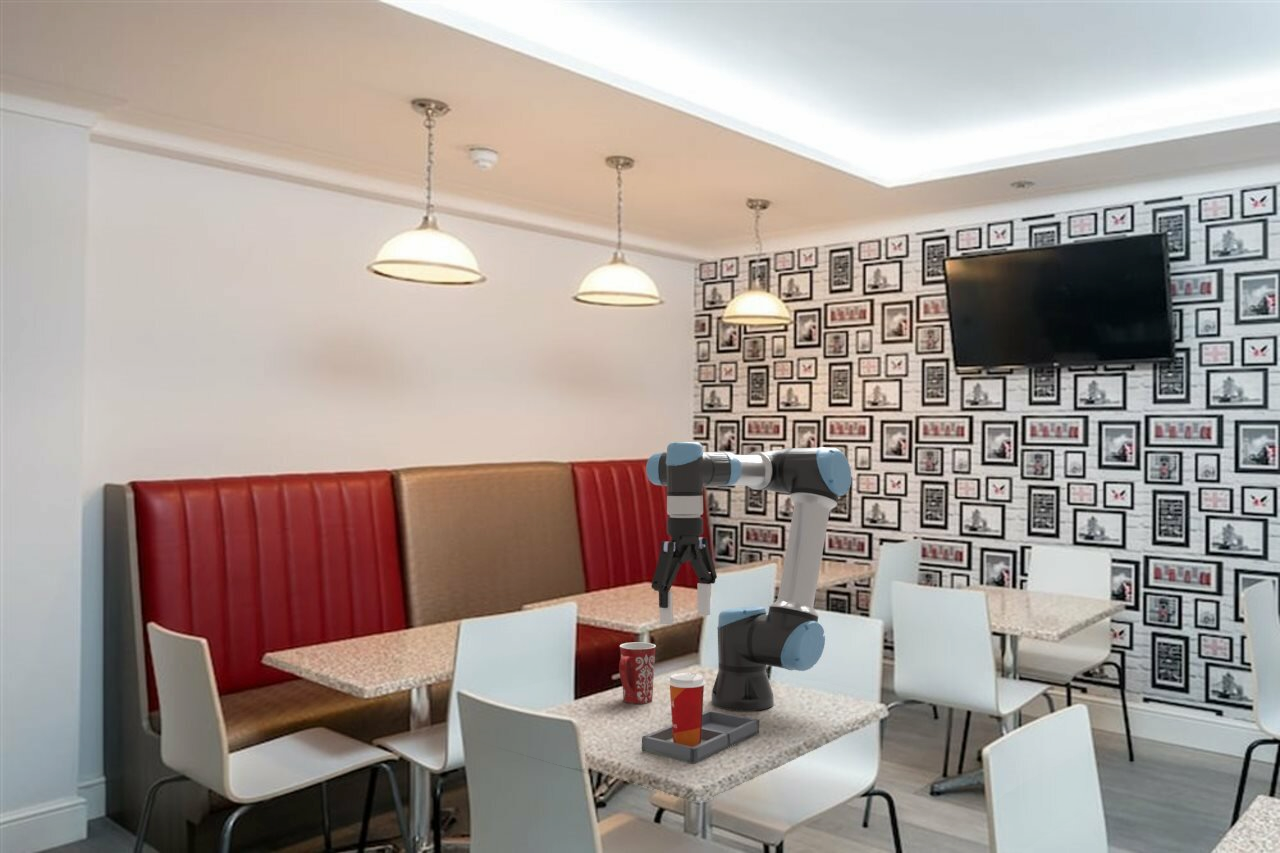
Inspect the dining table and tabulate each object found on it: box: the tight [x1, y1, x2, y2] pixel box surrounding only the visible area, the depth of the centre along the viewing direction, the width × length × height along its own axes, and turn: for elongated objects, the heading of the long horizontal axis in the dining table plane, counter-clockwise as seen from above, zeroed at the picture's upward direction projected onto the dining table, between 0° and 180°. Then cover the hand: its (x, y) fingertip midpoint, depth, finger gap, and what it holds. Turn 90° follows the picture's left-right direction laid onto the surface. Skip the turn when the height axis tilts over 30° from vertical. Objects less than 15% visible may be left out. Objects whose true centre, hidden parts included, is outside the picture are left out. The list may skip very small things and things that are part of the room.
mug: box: [618, 641, 657, 704], centre depth 218 cm, size 13×9×14 cm
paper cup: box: [667, 672, 706, 747], centre depth 182 cm, size 8×8×14 cm
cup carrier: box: [641, 709, 760, 765], centre depth 187 cm, size 25×13×3 cm, turn 142°
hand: (685, 619), depth 183 cm, fingers open, 13 cm apart
